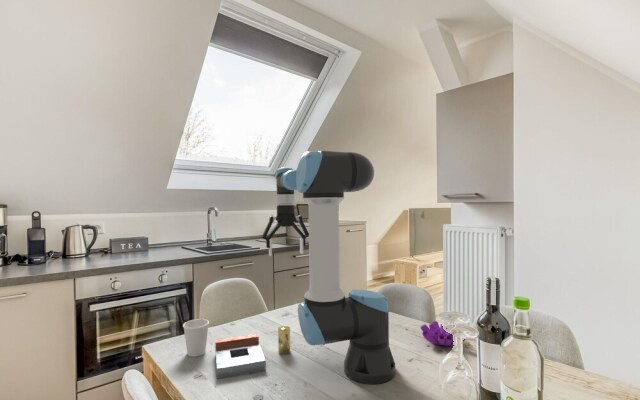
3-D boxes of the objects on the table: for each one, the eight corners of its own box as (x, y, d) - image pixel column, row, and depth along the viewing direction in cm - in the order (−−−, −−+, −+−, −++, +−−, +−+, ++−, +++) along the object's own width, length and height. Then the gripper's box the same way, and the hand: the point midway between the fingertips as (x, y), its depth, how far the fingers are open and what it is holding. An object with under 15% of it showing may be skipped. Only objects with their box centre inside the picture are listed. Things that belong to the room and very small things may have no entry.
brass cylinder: (291, 353, 111) (291, 329, 111) (279, 355, 109) (279, 331, 109) (288, 348, 114) (288, 325, 114) (277, 350, 113) (277, 326, 113)
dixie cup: (197, 345, 118) (197, 317, 118) (214, 350, 114) (214, 321, 114) (177, 355, 111) (177, 325, 111) (195, 360, 107) (194, 329, 107)
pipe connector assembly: (443, 363, 109) (425, 339, 110) (430, 343, 124) (414, 323, 125) (471, 342, 109) (453, 319, 109) (454, 325, 124) (438, 304, 124)
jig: (265, 370, 100) (265, 353, 100) (217, 379, 95) (216, 361, 95) (257, 348, 115) (257, 333, 115) (215, 354, 110) (215, 339, 110)
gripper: (310, 204, 149) (311, 251, 149) (254, 205, 141) (255, 255, 141) (316, 204, 142) (316, 253, 142) (257, 205, 133) (258, 258, 133)
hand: (286, 254), depth 141 cm, fingers open, 13 cm apart
